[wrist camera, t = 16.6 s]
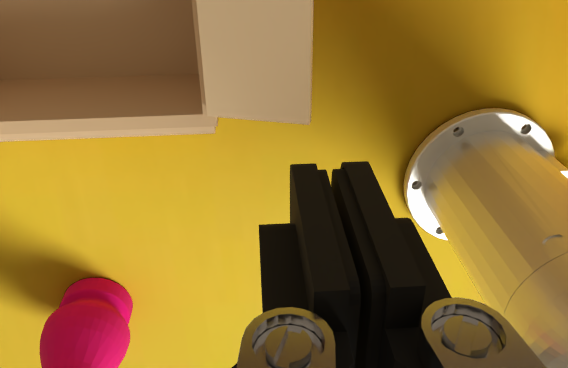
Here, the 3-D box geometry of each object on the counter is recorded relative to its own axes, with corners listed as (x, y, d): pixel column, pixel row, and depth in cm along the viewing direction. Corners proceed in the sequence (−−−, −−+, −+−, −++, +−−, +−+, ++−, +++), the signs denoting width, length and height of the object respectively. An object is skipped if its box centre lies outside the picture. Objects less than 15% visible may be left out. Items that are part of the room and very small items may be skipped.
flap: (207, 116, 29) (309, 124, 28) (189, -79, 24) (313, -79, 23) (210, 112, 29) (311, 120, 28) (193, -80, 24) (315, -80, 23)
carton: (207, -116, 31) (197, -117, 24) (222, 89, 37) (218, 134, 30) (-100, -113, 29) (-203, -114, 23) (-28, 97, 36) (-90, 146, 29)
